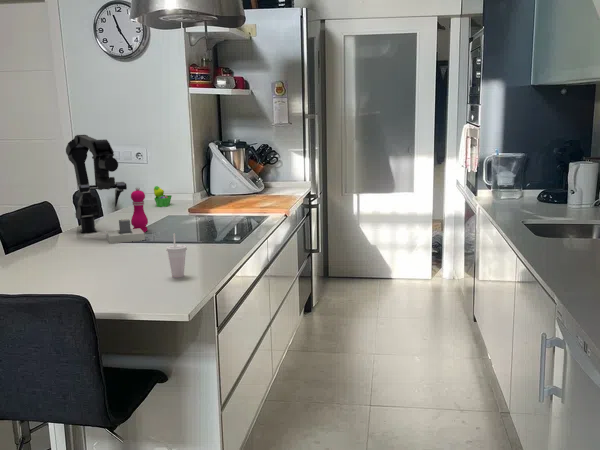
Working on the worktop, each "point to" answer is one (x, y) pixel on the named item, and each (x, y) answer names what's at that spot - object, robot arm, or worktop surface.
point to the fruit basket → (161, 197)
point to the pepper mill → (139, 210)
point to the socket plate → (125, 236)
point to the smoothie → (177, 259)
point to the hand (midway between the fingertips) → (104, 207)
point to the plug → (124, 226)
